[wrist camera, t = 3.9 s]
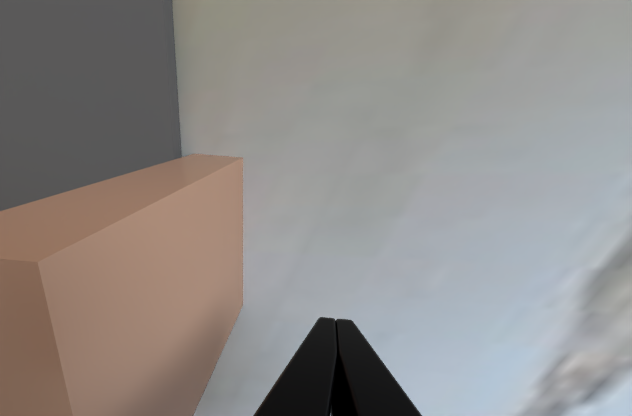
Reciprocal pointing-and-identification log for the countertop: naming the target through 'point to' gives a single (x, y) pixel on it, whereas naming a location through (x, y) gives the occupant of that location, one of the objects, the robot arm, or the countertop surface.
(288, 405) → the robot arm
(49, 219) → the tile
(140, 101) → the mat
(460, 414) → the countertop surface
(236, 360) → the countertop surface
